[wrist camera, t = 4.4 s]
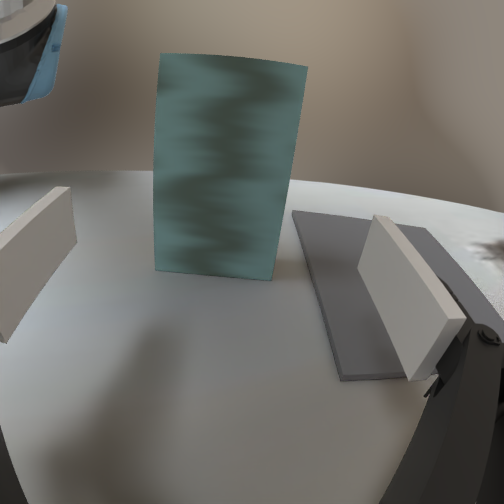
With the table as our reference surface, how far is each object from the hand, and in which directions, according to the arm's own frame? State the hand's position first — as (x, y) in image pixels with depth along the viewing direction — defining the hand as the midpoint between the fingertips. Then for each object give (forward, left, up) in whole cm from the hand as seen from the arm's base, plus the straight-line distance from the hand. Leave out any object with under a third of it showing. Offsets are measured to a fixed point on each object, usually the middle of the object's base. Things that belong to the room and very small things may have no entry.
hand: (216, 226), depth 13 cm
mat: (+15, +8, -7) cm, 18 cm away
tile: (0, +8, -7) cm, 10 cm away
